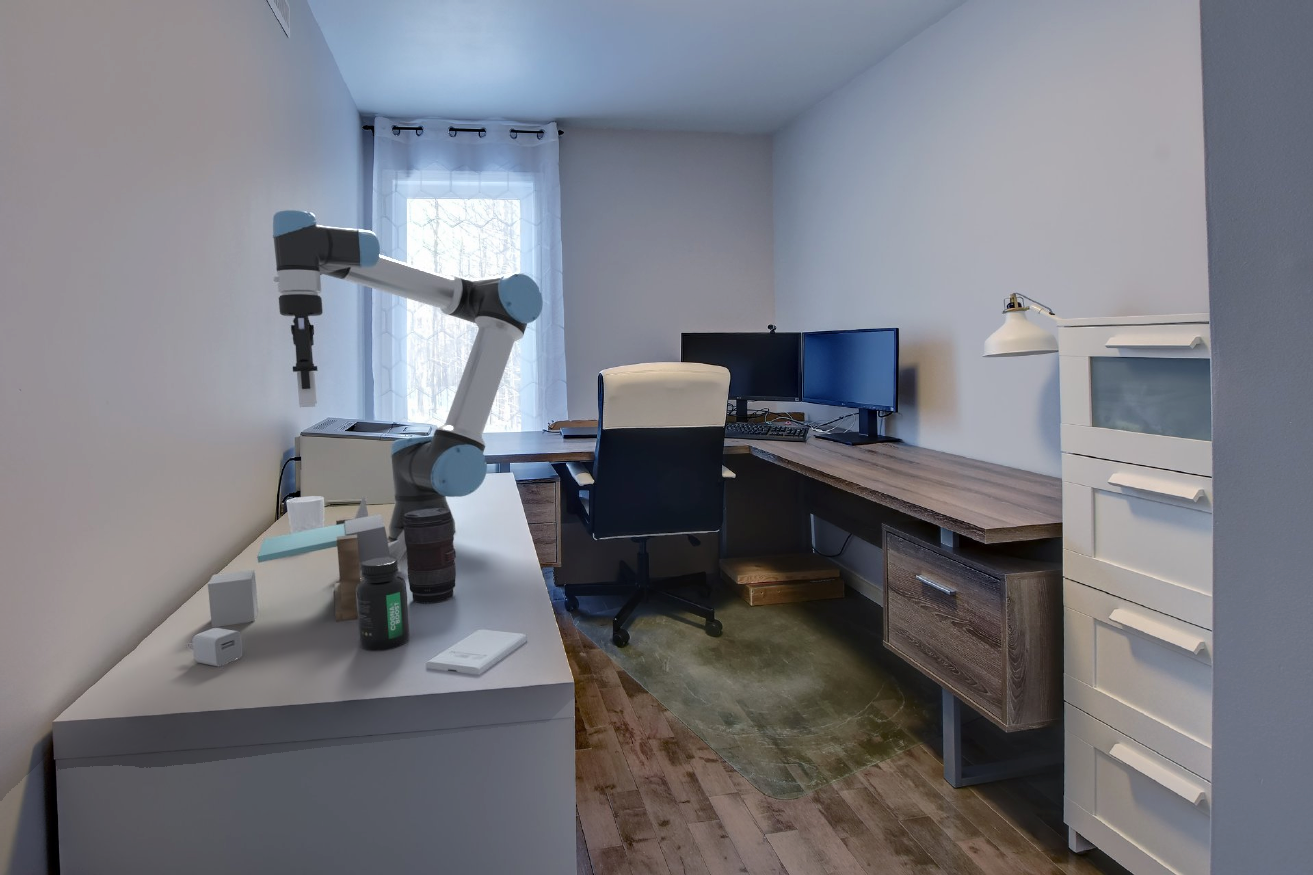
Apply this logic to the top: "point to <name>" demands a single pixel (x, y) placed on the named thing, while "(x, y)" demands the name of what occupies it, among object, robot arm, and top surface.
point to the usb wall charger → (216, 646)
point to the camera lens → (430, 554)
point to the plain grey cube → (233, 598)
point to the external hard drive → (477, 651)
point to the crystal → (395, 547)
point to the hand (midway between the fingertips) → (308, 405)
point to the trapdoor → (330, 540)
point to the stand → (347, 575)
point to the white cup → (305, 513)
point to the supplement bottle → (382, 605)
